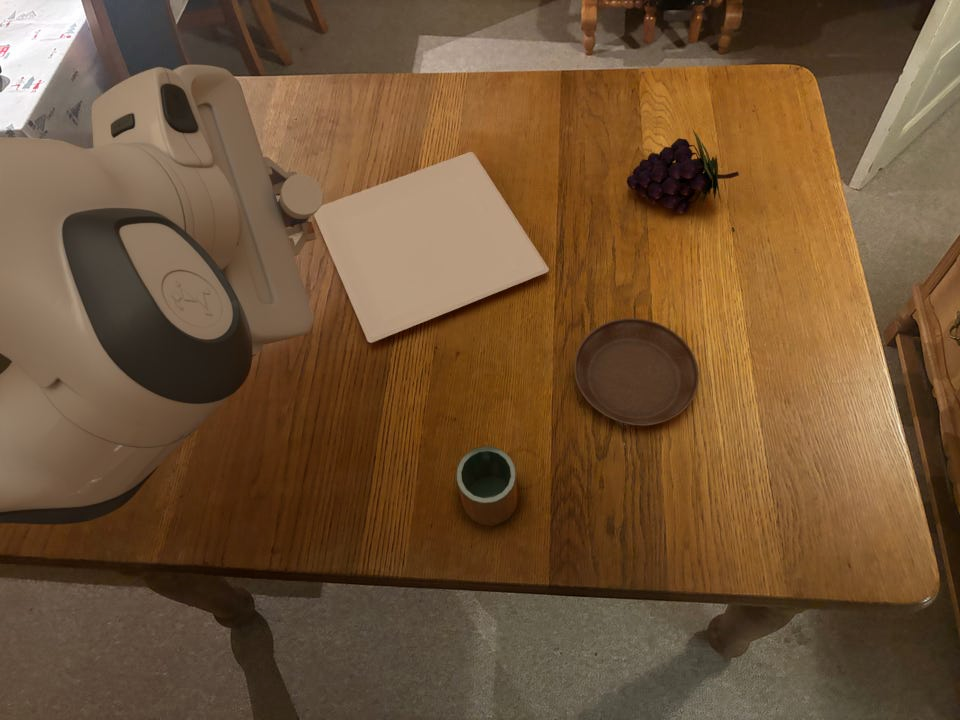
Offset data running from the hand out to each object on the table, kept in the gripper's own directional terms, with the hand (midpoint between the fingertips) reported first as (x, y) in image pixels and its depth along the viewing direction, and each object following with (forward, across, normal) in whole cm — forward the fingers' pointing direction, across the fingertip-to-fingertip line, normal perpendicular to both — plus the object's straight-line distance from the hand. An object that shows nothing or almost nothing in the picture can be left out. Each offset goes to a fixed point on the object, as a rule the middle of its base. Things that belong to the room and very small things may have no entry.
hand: (300, 207), depth 55 cm
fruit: (+56, -8, -23) cm, 61 cm away
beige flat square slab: (+39, -5, +10) cm, 41 cm away
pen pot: (+17, -35, -1) cm, 39 cm away
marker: (+7, 0, +8) cm, 10 cm away
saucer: (+33, -28, -16) cm, 46 cm away
